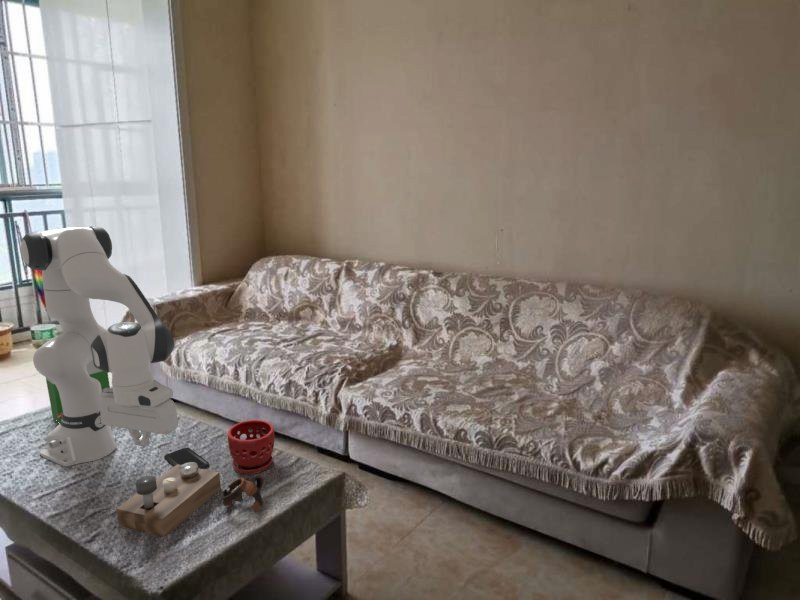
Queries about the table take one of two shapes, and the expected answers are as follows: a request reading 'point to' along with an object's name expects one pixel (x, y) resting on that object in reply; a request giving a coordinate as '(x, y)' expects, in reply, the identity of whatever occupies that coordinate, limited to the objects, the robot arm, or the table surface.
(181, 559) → the table surface
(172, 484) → the dial
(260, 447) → the plant pot
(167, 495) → the mount
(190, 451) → the phone
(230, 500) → the brown open round fixture
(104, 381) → the hardback book
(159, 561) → the table surface
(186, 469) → the silver knob
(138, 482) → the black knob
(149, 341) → the robot arm
